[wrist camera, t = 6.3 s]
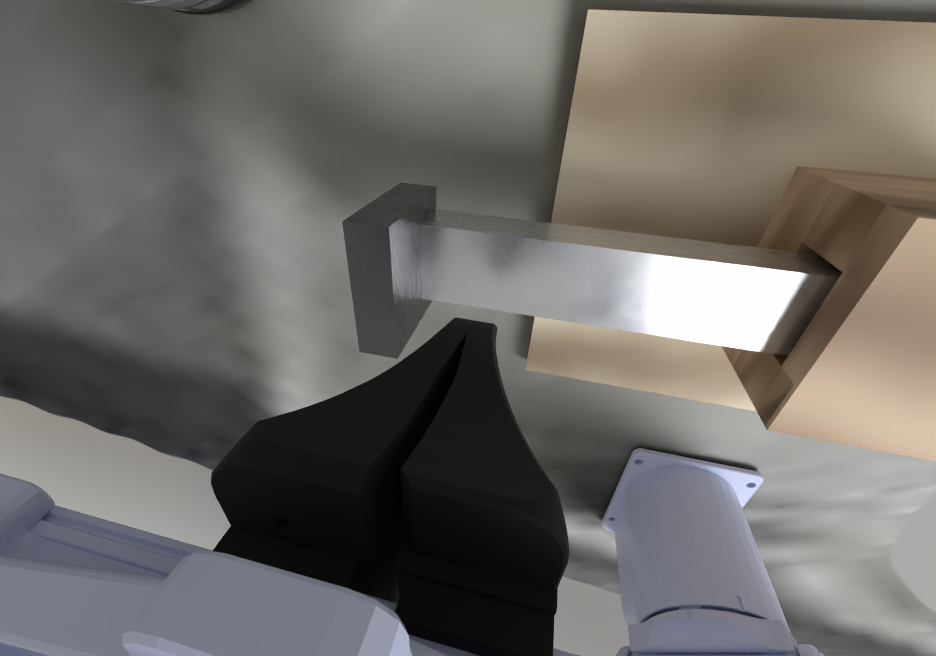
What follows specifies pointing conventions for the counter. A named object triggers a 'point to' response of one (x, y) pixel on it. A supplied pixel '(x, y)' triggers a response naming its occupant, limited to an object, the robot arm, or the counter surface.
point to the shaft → (571, 277)
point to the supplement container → (195, 5)
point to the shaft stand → (767, 207)
